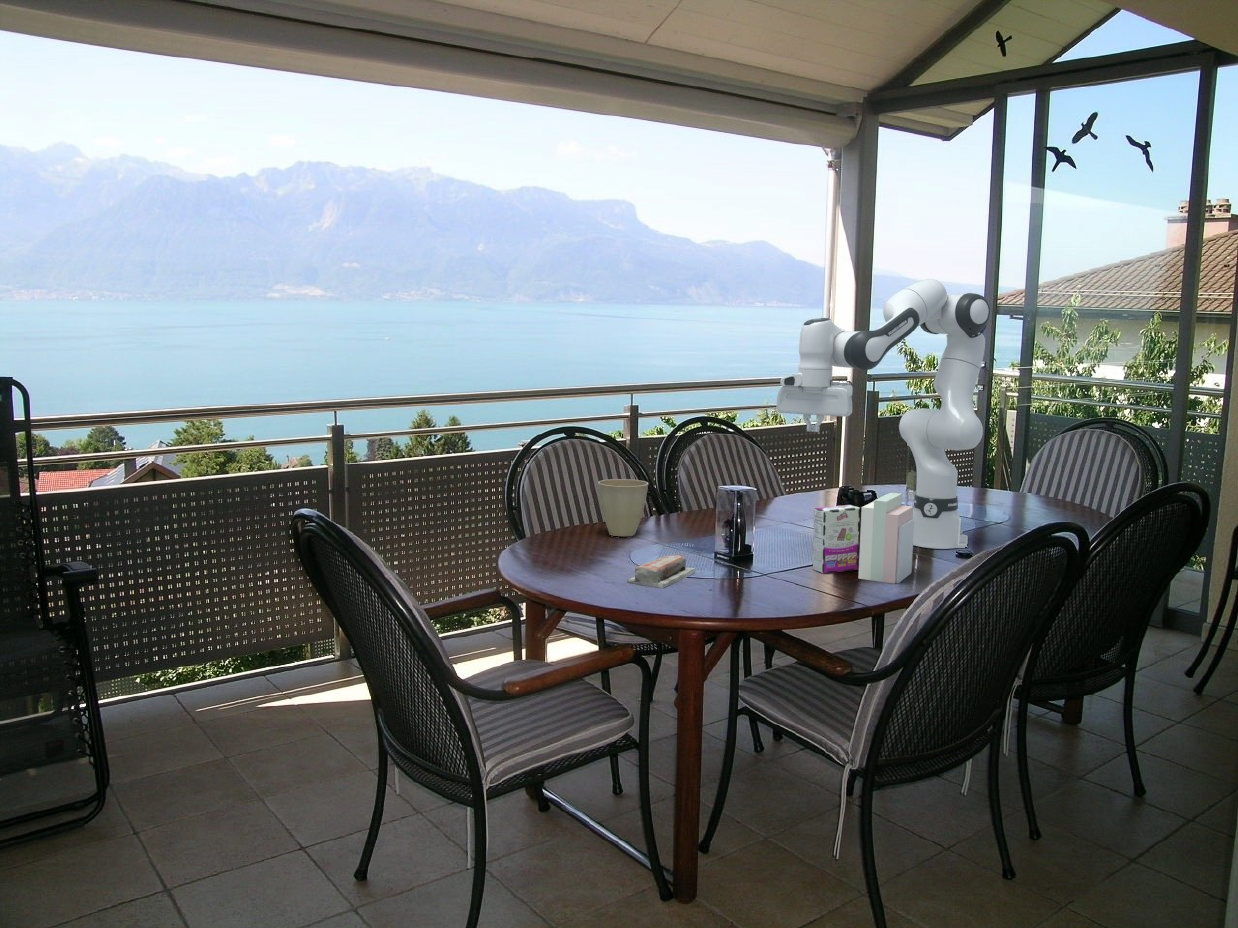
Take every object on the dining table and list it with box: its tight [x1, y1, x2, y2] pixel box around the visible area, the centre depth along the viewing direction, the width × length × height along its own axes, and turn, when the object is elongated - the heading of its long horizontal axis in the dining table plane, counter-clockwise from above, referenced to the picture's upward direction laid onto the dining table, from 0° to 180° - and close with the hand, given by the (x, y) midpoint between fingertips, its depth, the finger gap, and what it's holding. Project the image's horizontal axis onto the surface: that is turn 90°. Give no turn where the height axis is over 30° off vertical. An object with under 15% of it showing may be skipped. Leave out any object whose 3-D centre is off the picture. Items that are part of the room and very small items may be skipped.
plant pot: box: [597, 478, 649, 537], centre depth 287 cm, size 15×15×16 cm
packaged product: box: [626, 554, 696, 589], centre depth 239 cm, size 18×5×10 cm
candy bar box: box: [812, 504, 861, 575], centre depth 247 cm, size 11×5×16 cm, turn 114°
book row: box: [857, 492, 914, 585], centre depth 242 cm, size 14×10×20 cm
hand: (813, 431), depth 259 cm, fingers closed
